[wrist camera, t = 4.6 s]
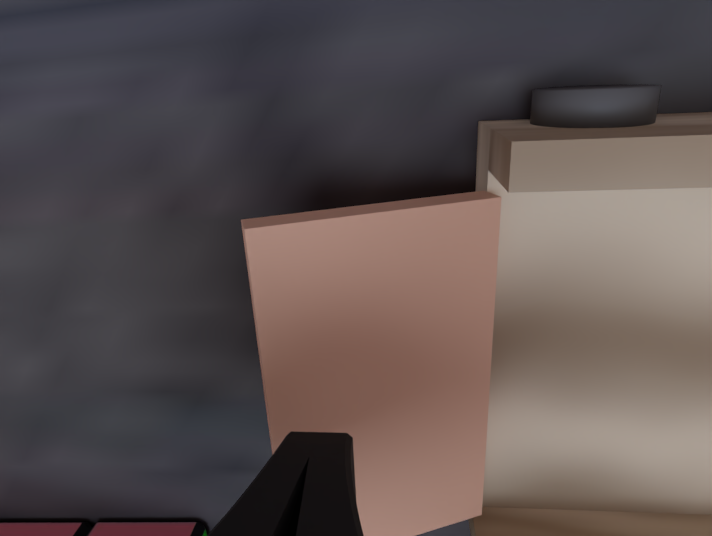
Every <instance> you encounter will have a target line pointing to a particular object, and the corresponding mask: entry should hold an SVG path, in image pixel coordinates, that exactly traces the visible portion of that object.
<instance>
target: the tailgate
mask: <svg viewBox="0 0 712 536" xmlns="http://www.w3.org/2000/svg"><path fill="white" fill-rule="evenodd" d="M500 213H501V197H500V196H497V195H494V194H492V193H489V192H486V191H476V192H467V193H459V194H451V195H442V196H434V197H426V198H417V199H409V200H401V201H392V202H384V203H376V204H367V205H359V206H351V207H342V208H334V209H326V210H317V211H309V212H301V213H292V214H284V215H276V216H267V217H259V218H251V219H242V220H241V224H242V232H243V239H244V247H245V254H246V262H247V269H248V276H249V284H250V291H251V299H252V306H253V314H254V321H255V329H256V336H257V344H258V351H259V359H260V366H261V374H262V381H263V388H264V396H265V403H266V411H267V418H268V426H269V433H270V441H271V448H272V455H273V454H274V452H275V451H276V450H277V448H278V447H279V445H280V444H281V442H282V441H283V440H284V438H285V437H286V435H288V434H289V433H290V432H291V431H293V432H334V433H348V434H349V435H350V436H351V437H353V452H354V469H355V487H356V504H357V509H358V514H359V518H360V523H361V527H362V531H363V535H364V536H416V535H419V534H422V533H425V532H428V531H432V530H435V529H438V528H441V527H445V526H448V525H451V524H454V523H457V522H461V521H464V520H467V519H470V518H473V517H477V516H480V515H482V504H483V488H484V472H485V455H486V439H487V423H488V407H489V391H490V375H491V359H492V342H493V326H494V310H495V294H496V278H497V262H498V246H499V229H500Z"/></svg>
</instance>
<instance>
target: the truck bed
mask: <svg viewBox="0 0 712 536" xmlns="http://www.w3.org/2000/svg"><path fill="white" fill-rule="evenodd" d="M660 91H661V85H595V86H570V87H552V88H540V89H533V90H532V102H531V115H530V119H519V120H494V121H478V143H477V166H476V190H475V192H476V191H486V192H489V193H492V194H494V195H497V196H500V197H501V213H500V229H499V246H498V262H497V278H496V294H495V310H494V326H493V342H492V359H491V375H490V391H489V407H488V423H487V439H486V455H485V472H484V488H483V504H482V515H480V516H477V517H473V518H470V519H468V520H469V526H470V533H471V536H712V112H699V113H673V114H657V109H658V103H659V97H660Z"/></svg>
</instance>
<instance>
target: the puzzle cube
mask: <svg viewBox="0 0 712 536" xmlns="http://www.w3.org/2000/svg"><path fill="white" fill-rule="evenodd" d="M0 536H207V532H206V529H205V527H204V525H203V524H202V523H201V522H98V523H96V524H95V525H94V526H93V527H92V528H91V526H90V523H89V522H0Z"/></svg>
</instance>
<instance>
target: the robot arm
mask: <svg viewBox="0 0 712 536" xmlns="http://www.w3.org/2000/svg"><path fill="white" fill-rule="evenodd" d="M207 536H364V535H363V531H362V527H361V523H360V518H359V514H358V509H357V504H356V487H355V469H354V452H353V437H351V436H350V435H349V434H348V433H334V432H293V431H291V432H290V433H289V434H288V435H286V437H285V438H284V440H283V441H282V442H281V444H280V445H279V447H278V448H277V450H276V451H275V452H274V454H273V455H272V457H271V458H270V459H269V461H268V462H267V463H266V465H265V466H264V467H263V469H262V470H261V471H260V473H259V474H258V475H257V477H256V478H255V479H254V481H253V482H252V483H251V484H250V486H249V487H248V488H247V489H246V490H245V492H244V493H243V494H242V495H241V497H240V498H239V499H238V500H237V502H236V503H235V504H234V505H233V507H232V508H231V509H230V510H229V511H228V513H227V514H226V515H225V516H224V517H223V518H222V519H221V521H220V522H219V523H218V524H217V525H216V526H215V527H214V528H213V530H212V531H211V532H210V533H209V534H208V535H207Z"/></svg>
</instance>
